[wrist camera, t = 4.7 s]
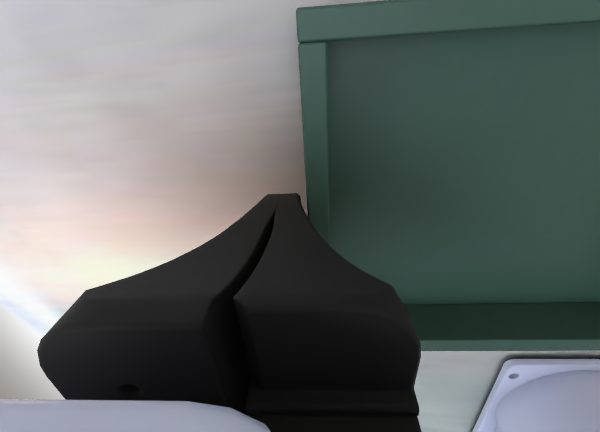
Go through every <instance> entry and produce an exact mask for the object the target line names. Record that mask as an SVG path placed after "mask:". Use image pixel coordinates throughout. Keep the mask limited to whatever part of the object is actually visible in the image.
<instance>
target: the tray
mask: <svg viewBox="0 0 600 432" xmlns="http://www.w3.org/2000/svg"><path fill="white" fill-rule="evenodd" d="M296 18H297V35H298V42H300V44H299V45H298V52H299V70H300V87H301V104H302V122H303V139H304V157H305V174H306V191H307V209H308V218H309V220H310V222H311V223H312V225H313V226H314V228H315V229H316V230H317V232H318V233H319V234H320V236H321V237H322V238H323V239H324V240H325V241H326V242H327V243H328V244H329V245H330V246H331V247H332V248H333V249H334V250H335V251H336V252H337V253H338V254H339V255H341V256H342V257H343V258H344V259H346V260H347V261H348V262H350V263H351V264H353V265H354V266H356V267H358V268H359V269H361V270H362V271H364V272H366V273H368V274H370V275H372V276H374V277H376V278H378V279H380V280H382V281H384V282H386V283H388V284H390V285H391V286H393V288H394V289H395V291H396V293H397V294H398V296H399V298H400V299H401V301H402V303H403V304H404V306H405V308H406V310H407V312H408V314H409V316H410V318H411V320H412V322H413V324H414V326H415V329H416V332H417V334H418V338H419V341H420V344H421V351H564V350H600V0H389V1H376V2H364V3H352V4H339V5H327V6H314V7H302V8H298V9H297V10H296Z"/></svg>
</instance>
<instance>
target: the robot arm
mask: <svg viewBox="0 0 600 432" xmlns="http://www.w3.org/2000/svg"><path fill="white" fill-rule="evenodd" d="M37 351H38V357H39V362H40V366H41V368H42V369H43V371H44V372H45V374H46V376H47V377H48V379H49V380H50V381H51V382H52V383H53V385H54V386H55V387H56V388H57V389H58V391H59V392H60V393H61V394H62V396H63V397H64V398H65V399H66V400H33V399H27V400H26V399H0V432H421V429H420V425H419V421H418V418H417V416H418V415H419V406H418V402H417V399H416V395H415V392H414V384H415V379H416V375H417V371H418V366H419V362H420V357H421V344H420V341H419V338H418V334H417V332H416V329H415V326H414V324H413V322H412V320H411V318H410V316H409V314H408V312H407V310H406V308H405V306H404V304H403V303H402V301H401V299H400V298H399V296H398V294H397V293H396V291H395V289H394V288H393V286H391V285H390V284H388V283H386V282H384V281H382V280H380V279H378V278H376V277H374V276H372V275H370V274H368V273H366V272H364V271H362V270H361V269H359V268H358V267H356V266H354V265H353V264H351V263H350V262H348V261H347V260H346V259H344V258H343V257H342V256H341V255H339V254H338V253H337V252H336V251H335V250H334V249H333V248H332V247H331V246H330V245H329V244H328V243H327V242H326V241H325V240H324V239H323V238H322V237H321V236H320V234H319V233H318V232H317V230H316V229H315V228H314V226H313V225H312V223H311V222H310V220H309V218H308V217H307V215H306V213H305V211H304V209H303V206H302V204H301V196H300V195H299V194H297V193H293V194H268V195H267V196H265V197H264V198H263V199H262V200H261V201H260V202H259V203H258V204H257V205H255V206H254V207H253V208H252V209H251V210H250V211H249V212H248V213H246V214H245V215H244V216H243V217H242V218H240V219H239V220H238V221H237V222H235V223H234V224H233V225H231V226H230V227H229V228H227V229H226V230H225V231H223V232H222V233H221V234H219V235H218V236H216V237H214V238H213V239H211V240H210V241H208V242H206V243H205V244H203V245H201V246H199V247H198V248H196V249H194V250H192V251H190V252H188V253H186V254H184V255H182V256H180V257H178V258H176V259H174V260H171V261H169V262H167V263H164V264H162V265H160V266H157V267H155V268H152V269H150V270H147V271H144V272H142V273H139V274H136V275H134V276H131V277H128V278H125V279H121V280H118V281H115V282H112V283H109V284H105V285H102V286H99V287H96V288H92V289H89V290H86V291H85V292H84V293H83V294H82V295H81V296H80V297H79V299H78V300H77V301H76V302H75V303H74V304H73V305H72V306H71V307H70V308H69V310H68V311H67V312H66V313H65V314H64V315H63V316H62V317H61V318H60V319H59V320H58V322H57V323H56V324H55V325H54V326H53V327H52V328H51V329H50V330H49V331H48V333H47V334H46V335H45V336H44V337H43V338H42V339H41V341H40V344H39V347H38V350H37ZM472 432H600V359H510V360H508V361H506V362H505V363H504V364H503V367H502V369H501V371H500V373H499V375H498V377H497V379H496V382H495V384H494V386H493V388H492V390H491V392H490V395H489V397H488V399H487V401H486V403H485V405H484V408H483V410H482V412H481V414H480V416H479V418H478V421H477V423H476V425H475V427H474V429H473V431H472Z"/></svg>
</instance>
